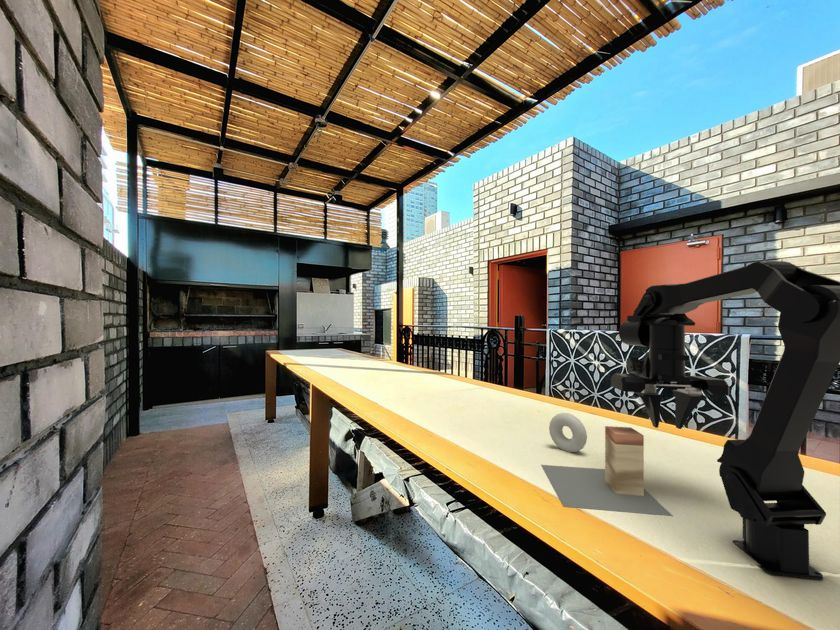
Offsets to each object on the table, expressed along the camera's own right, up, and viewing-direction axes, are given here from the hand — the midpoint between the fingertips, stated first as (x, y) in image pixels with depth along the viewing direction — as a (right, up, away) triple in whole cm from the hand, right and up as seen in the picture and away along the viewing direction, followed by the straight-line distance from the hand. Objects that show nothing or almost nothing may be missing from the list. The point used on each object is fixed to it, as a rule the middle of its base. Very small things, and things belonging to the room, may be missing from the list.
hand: (667, 427), depth 66 cm
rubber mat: (-13, -13, +1) cm, 18 cm away
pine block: (-8, -12, +1) cm, 15 cm away
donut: (-10, -14, +21) cm, 27 cm away
